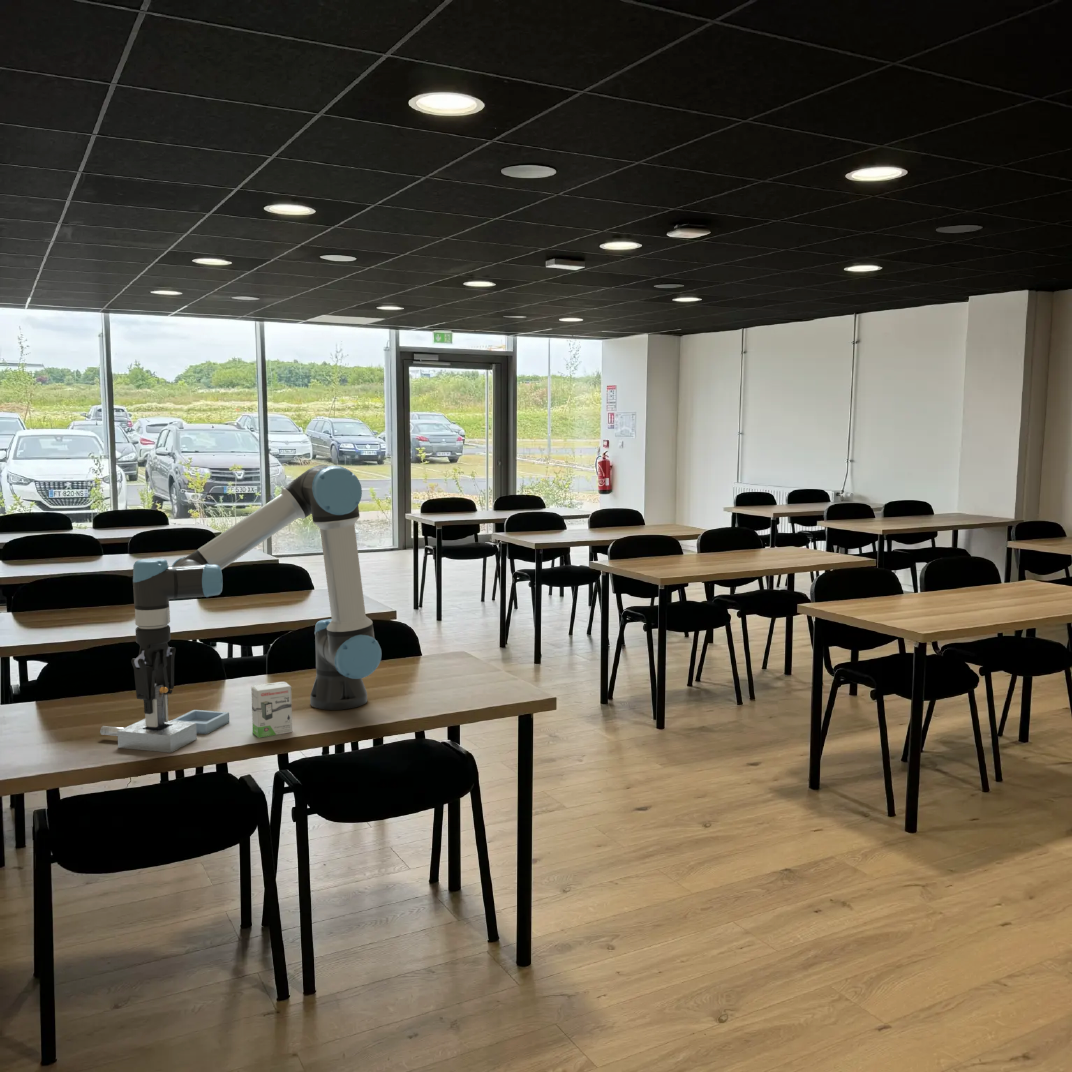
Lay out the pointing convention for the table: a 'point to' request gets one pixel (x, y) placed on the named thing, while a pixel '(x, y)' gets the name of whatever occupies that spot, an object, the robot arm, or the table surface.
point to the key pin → (159, 706)
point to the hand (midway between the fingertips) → (157, 723)
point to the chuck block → (153, 736)
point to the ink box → (271, 709)
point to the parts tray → (205, 720)
